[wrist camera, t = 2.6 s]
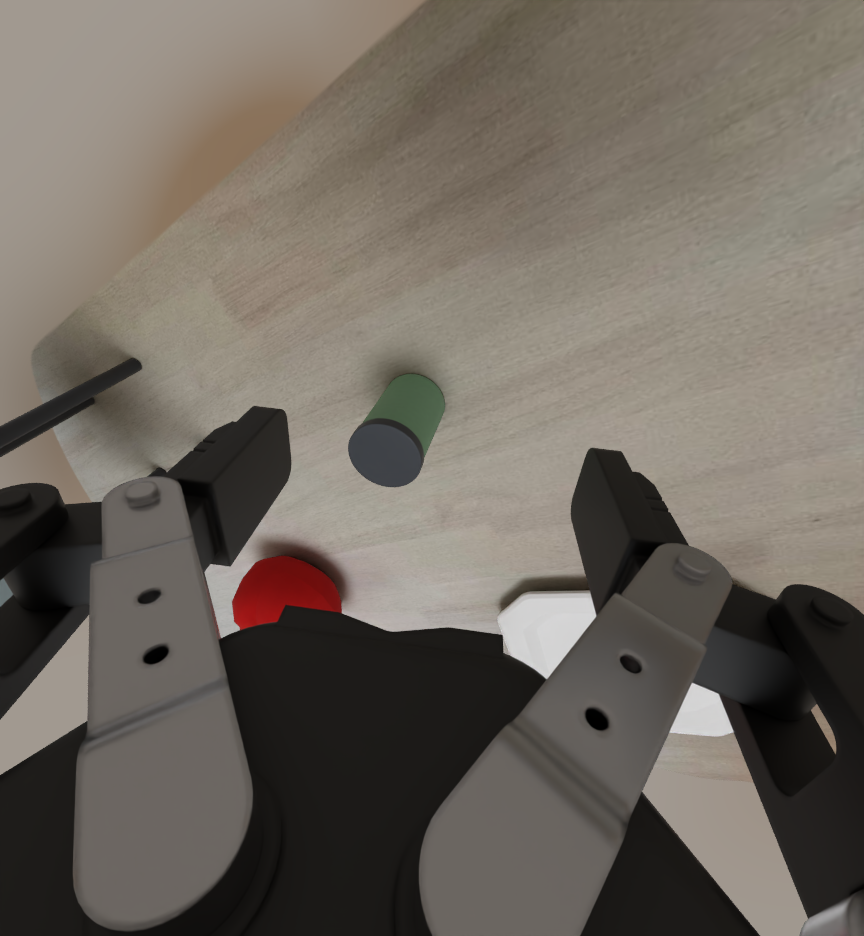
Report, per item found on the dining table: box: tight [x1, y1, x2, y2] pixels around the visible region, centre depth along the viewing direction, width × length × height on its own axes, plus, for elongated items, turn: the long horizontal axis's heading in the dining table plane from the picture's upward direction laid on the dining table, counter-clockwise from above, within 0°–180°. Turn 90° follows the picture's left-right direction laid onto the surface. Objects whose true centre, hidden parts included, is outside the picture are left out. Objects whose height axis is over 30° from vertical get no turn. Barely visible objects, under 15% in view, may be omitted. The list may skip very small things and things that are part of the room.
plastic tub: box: [348, 374, 445, 487], centre depth 33 cm, size 5×5×8 cm
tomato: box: [232, 556, 342, 630], centre depth 50 cm, size 11×13×10 cm
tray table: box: [0, 358, 166, 607], centre depth 36 cm, size 11×10×22 cm
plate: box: [497, 590, 734, 737], centre depth 48 cm, size 25×25×2 cm
